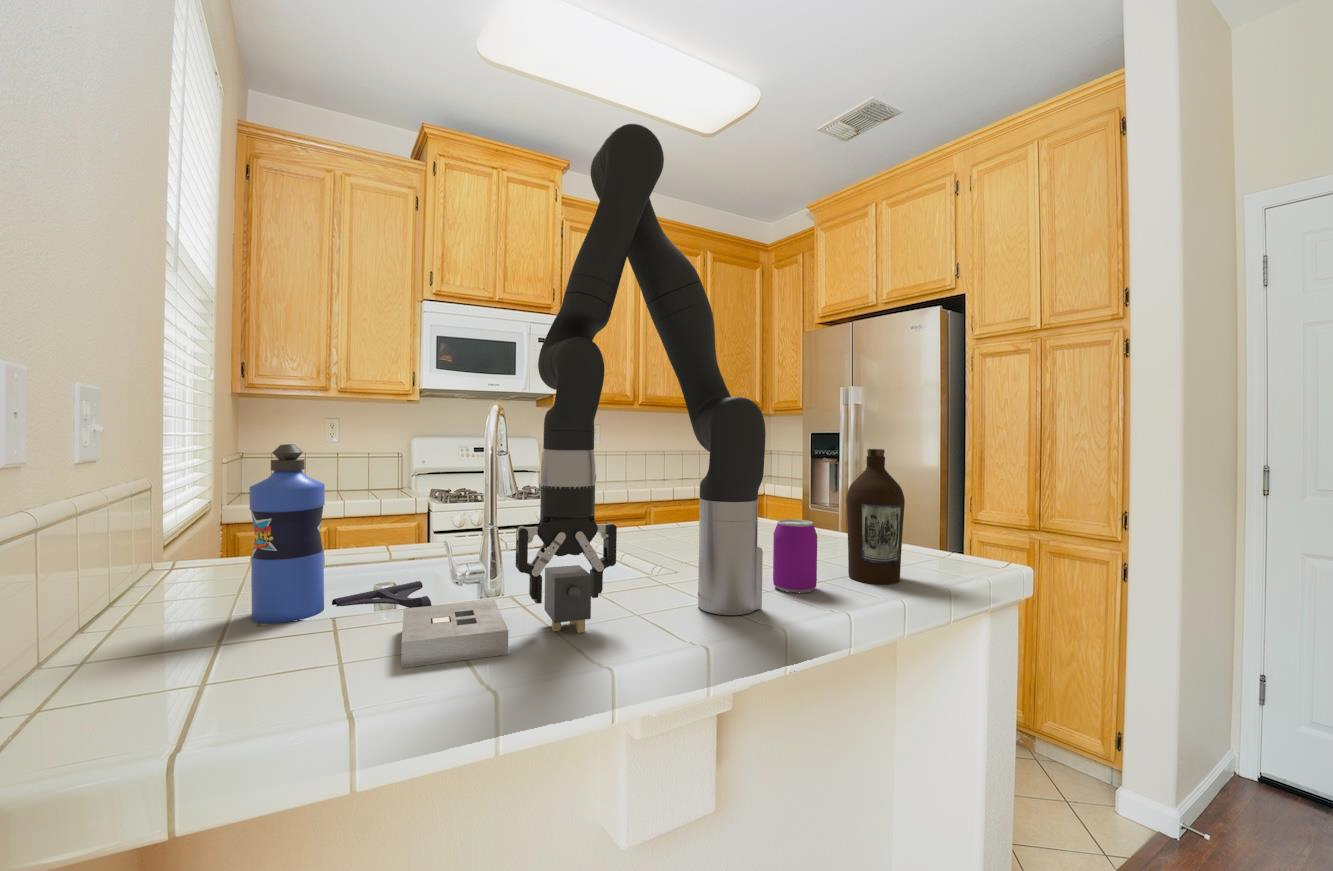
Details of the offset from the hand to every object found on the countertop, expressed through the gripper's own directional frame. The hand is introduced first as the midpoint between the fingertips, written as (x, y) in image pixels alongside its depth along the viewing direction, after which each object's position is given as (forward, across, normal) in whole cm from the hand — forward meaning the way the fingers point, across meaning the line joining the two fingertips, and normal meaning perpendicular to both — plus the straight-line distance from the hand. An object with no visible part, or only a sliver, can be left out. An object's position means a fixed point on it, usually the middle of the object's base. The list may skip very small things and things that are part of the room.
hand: (566, 599), depth 83 cm
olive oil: (+4, -62, -8) cm, 63 cm away
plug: (+4, 0, 0) cm, 4 cm away
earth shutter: (+2, +16, 0) cm, 16 cm away
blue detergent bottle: (+4, +37, -21) cm, 42 cm away
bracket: (+5, +22, -21) cm, 31 cm away
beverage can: (+4, -43, -7) cm, 44 cm away
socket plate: (+4, +15, 0) cm, 15 cm away
